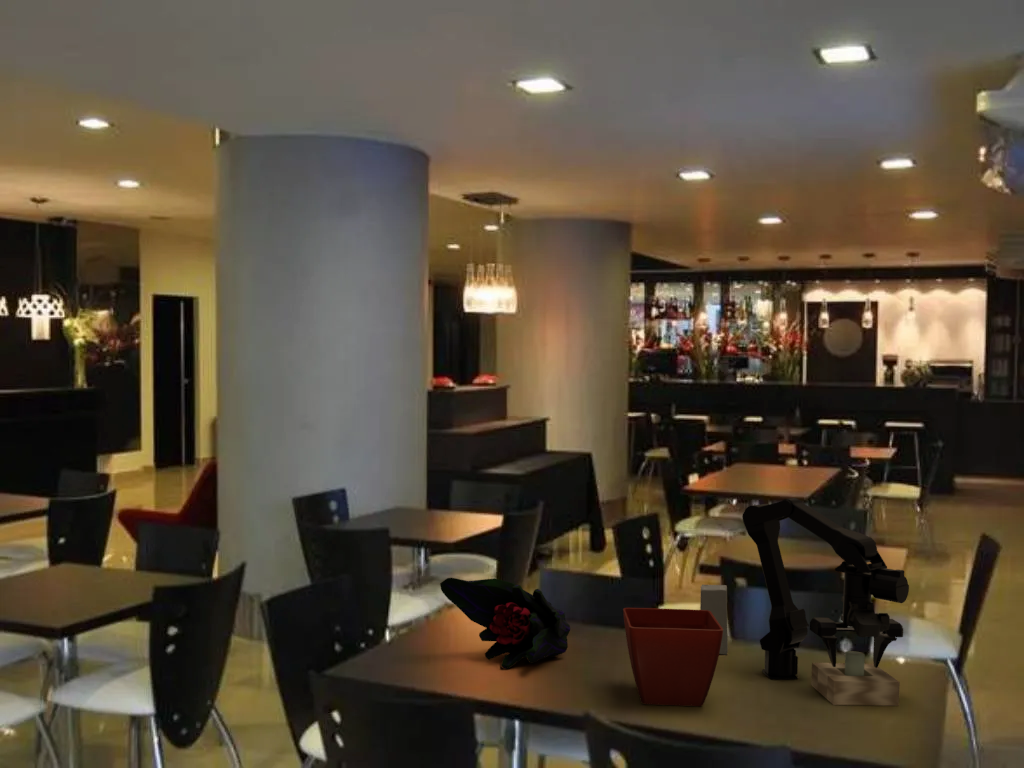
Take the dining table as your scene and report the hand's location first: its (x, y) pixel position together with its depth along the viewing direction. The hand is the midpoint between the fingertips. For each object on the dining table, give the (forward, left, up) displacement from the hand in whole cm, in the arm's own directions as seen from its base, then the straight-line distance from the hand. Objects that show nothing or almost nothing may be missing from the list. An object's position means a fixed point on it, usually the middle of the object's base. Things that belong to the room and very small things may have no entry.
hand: (854, 667), depth 237 cm
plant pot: (-41, -3, -6) cm, 42 cm away
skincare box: (-22, +36, -6) cm, 43 cm away
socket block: (0, 0, -6) cm, 6 cm away
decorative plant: (-72, +22, -6) cm, 76 cm away
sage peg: (0, 0, -6) cm, 6 cm away
